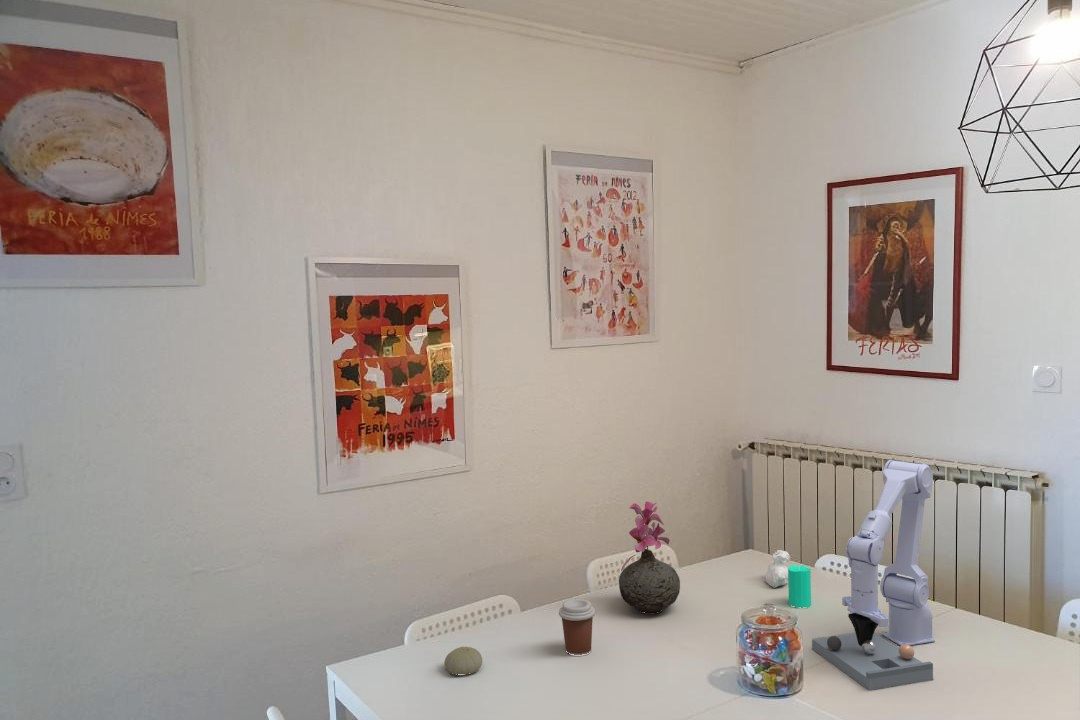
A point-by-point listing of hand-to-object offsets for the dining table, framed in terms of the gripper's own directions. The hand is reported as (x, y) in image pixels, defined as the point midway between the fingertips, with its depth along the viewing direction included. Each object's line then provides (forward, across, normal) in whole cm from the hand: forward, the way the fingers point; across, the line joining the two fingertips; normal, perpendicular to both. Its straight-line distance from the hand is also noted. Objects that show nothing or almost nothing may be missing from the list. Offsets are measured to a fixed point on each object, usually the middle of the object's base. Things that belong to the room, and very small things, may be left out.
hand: (864, 645), depth 181 cm
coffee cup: (+5, -27, -62) cm, 68 cm away
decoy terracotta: (0, +6, +6) cm, 9 cm away
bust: (+4, -53, +8) cm, 54 cm away
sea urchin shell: (+6, -25, -91) cm, 95 cm away
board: (+4, +1, +1) cm, 4 cm away
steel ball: (0, +1, 0) cm, 1 cm away
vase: (+5, -46, -36) cm, 59 cm away
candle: (+4, -36, +5) cm, 37 cm away
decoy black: (0, -3, -6) cm, 7 cm away
